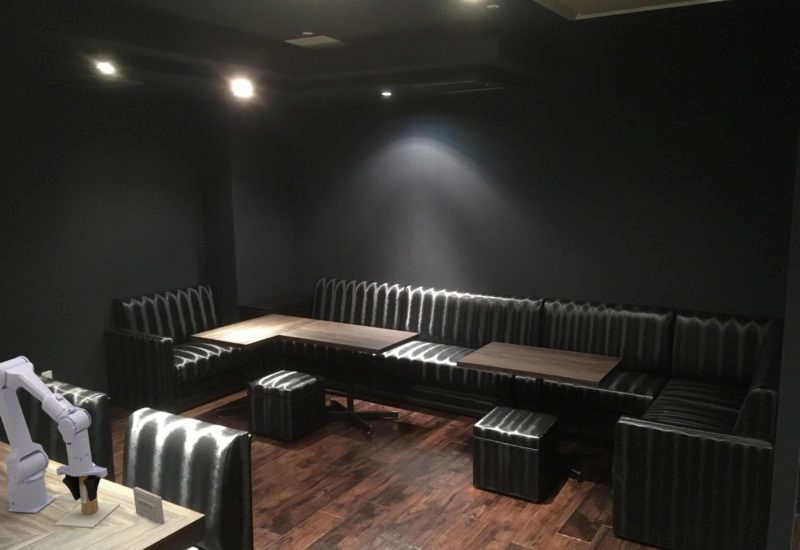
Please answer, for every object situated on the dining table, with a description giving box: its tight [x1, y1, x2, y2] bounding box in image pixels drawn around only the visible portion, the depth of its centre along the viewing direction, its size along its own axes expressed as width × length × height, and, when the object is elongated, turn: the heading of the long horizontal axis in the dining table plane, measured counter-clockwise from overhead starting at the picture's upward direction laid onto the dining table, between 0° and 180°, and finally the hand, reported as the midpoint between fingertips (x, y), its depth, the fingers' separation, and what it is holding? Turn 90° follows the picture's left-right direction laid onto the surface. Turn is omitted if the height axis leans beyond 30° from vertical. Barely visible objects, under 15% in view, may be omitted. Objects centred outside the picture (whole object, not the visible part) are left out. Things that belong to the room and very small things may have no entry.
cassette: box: [132, 486, 165, 525], centre depth 181 cm, size 12×2×8 cm, turn 55°
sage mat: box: [54, 502, 121, 530], centre depth 185 cm, size 12×12×1 cm
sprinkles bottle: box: [79, 462, 99, 514], centre depth 185 cm, size 5×5×13 cm
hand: (85, 499), depth 184 cm, fingers closed on sprinkles bottle, 4 cm apart
